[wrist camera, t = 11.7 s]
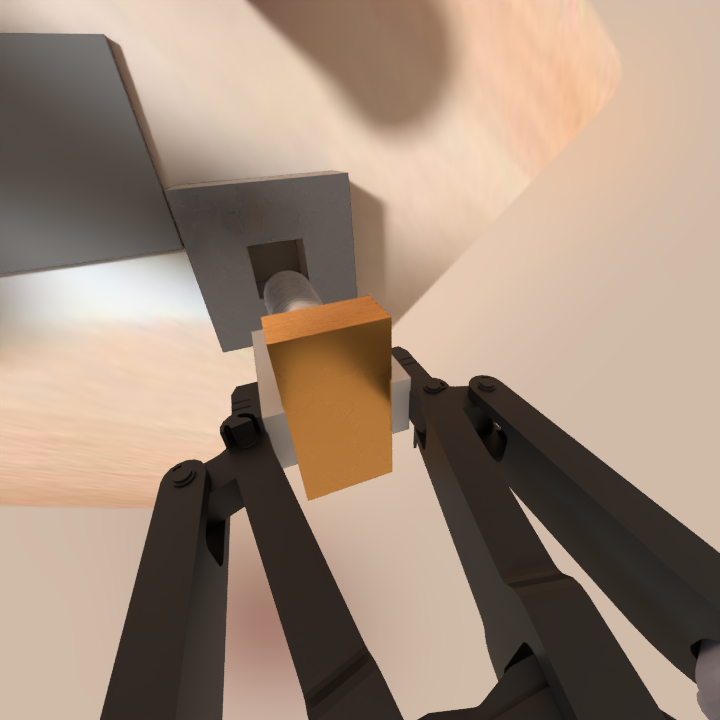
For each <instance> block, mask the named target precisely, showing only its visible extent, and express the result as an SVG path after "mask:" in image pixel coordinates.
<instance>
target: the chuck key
mask: <svg viewBox="0 0 720 720" xmlns="http://www.w3.org/2000/svg"><path fill="white" fill-rule="evenodd" d="M264 299H265V303H266V308H267V312H268V316H264V317H261V321H262V326H263V331H264V336H265V341H266V346H267V350H268V353H269V357H270V361H271V365H272V368H273V372H274V376H275V379H276V383H277V387H278V391H279V394H280V398H281V402H282V405H283V409H284V411H285V414H286V418H287V422H288V426H289V429H290V433H291V437H292V441H293V444H294V448H295V452H296V456H297V459H298V463H299V464H298V465H299V469H300V472H301V476H302V480H303V484H304V487H305V491H306V495H307V498H308V501H309V500H312V499H315V498H318V497H321V496H324V495H327V494H329V493H332V492H335V491H338V490H341V489H344V488H347V487H350V486H353V485H355V484H358V483H361V482H364V481H367V480H370V479H373V478H376V477H378V476H381V475H384V474H387V473H390V472H392V420H391V381H392V346H391V317H390V316H389V315H388V314H387V313H386V312H385V311H384V310H383V309H382V308H381V307H380V306H379V305H378V304H377V303H376V302H375V301H374V300H373V299H372V298H371V297H370V296H365V297H360V298H355V299H350V300H345V301H340V302H335V303H330V304H325V305H323V303H322V302H321V300H320V298H319V297H318V295H317V294H316V292H315V291H314V289H313V287H312V286H311V284H310V283H309V281H308V280H307V279H306V277H305V276H303V275H302V274H300V273H298V272H295V271H291V270H286V271H280V272H278V273H276V274H274V275H273V276H272V277H270V278H269V280H268V281H267V283H266V285H265V288H264Z"/></svg>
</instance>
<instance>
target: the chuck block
mask: <svg viewBox="0 0 720 720" xmlns="http://www.w3.org/2000/svg"><path fill="white" fill-rule="evenodd" d="M164 191H165V194H166V197H167V200H168V202H169V205H170V208H171V211H172V213H173V216H174V219H175V222H176V224H177V227H178V230H179V233H180V235H181V238H182V241H183V244H184V246H185V249H186V252H187V255H188V257H189V260H190V263H191V266H192V268H193V271H194V274H195V277H196V279H197V282H198V285H199V288H200V290H201V293H202V296H203V299H204V301H205V304H206V307H207V310H208V312H209V315H210V318H211V321H212V323H213V326H214V329H215V332H216V334H217V337H218V340H219V343H220V345H221V348H222V351H223V352H228V351H233V350H237V349H242V348H247V347H251V346H253V341H252V333H251V332H253V331H258V330H262V329H263V326H262V321H261V317H264V316H268V312H267V308H266V303H265V299H264V288H265V285H266V283H267V281H263V282H256V278H255V274H254V270H253V266H252V262H251V259H250V255H249V251H248V247H247V246H252V245H259V244H266V243H273V242H280V241H287V240H294V239H296V244H297V250H298V256H299V262H300V268H301V274H302V275H303V276H305V277H306V279H307V280H308V281H309V283H310V284H311V286H312V287H313V289H314V291H315V292H316V294H317V295H318V297H319V298H320V300H321V302H322V303H323V305H325V304H330V303H335V302H340V301H345V300H350V299H355V298H357V288H356V274H355V260H354V246H353V232H352V218H351V204H350V191H349V177H348V173H347V172H339V171H324V172H313V173H302V174H291V175H280V176H269V177H259V178H248V179H237V180H226V181H215V182H204V183H194V184H183V185H174V186H172V187H170V188H167V189H165V190H164Z"/></svg>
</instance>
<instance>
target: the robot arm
mask: <svg viewBox="0 0 720 720" xmlns="http://www.w3.org/2000/svg"><path fill="white" fill-rule="evenodd" d="M251 333H252V341H253V349H254V357H255V365H256V373H257V381H258V382H254V383H250V384H246V385H242V386H238V387H236V388H235V390H234V392H233V394H232V395H231V402H232V415H231V416H229V417H228V418H227V419H226V420H225V421H223V423H222V425H221V427H220V434H221V436H222V439H223V441H224V443H225V445H226V449H225V450H224V451H223V452H222V453H221V454H220V455H218V456H217V457H215V458H213V459H211V460H210V461H208V462H206V463H204V464H203V463H202V462H201V461H199V460H195V459H194V460H186V461H184V462H181V463H179V464H177V465H176V466H174V467H173V468H171V469H170V470H169V471H168V472H167V473H166V474H165V475H164V477H163V479H162V481H161V483H160V487H159V491H158V495H157V499H156V502H155V506H154V510H153V514H152V518H151V522H150V526H149V530H148V534H147V538H146V542H145V546H144V550H143V553H142V557H141V561H140V565H139V569H138V573H137V577H136V581H135V585H134V588H133V592H132V597H131V600H130V604H129V608H128V612H127V616H126V620H125V624H124V628H123V631H122V636H121V639H120V643H119V647H118V651H117V655H116V659H115V663H114V667H113V671H112V674H111V678H110V682H109V686H108V690H107V694H106V698H105V702H104V706H103V710H102V714H101V717H100V720H222V712H223V687H224V662H225V636H226V610H227V585H228V561H229V560H228V559H229V534H230V516H231V515H232V514H234V513H236V512H237V511H239V510H240V509H242V508H243V507H245V508H246V511H247V514H248V517H249V521H250V524H251V527H252V530H253V534H254V537H255V540H256V543H257V546H258V550H259V553H260V556H261V559H262V563H263V566H264V569H265V572H266V576H267V579H268V582H269V585H270V589H271V591H272V595H273V598H274V601H275V604H276V608H277V611H278V614H279V618H280V621H281V624H282V627H283V630H284V634H285V637H286V640H287V643H288V647H289V650H290V653H291V656H292V659H293V662H294V666H295V669H296V672H297V676H298V679H299V682H300V685H301V689H302V692H303V695H304V699H305V704H306V709H307V715H308V719H309V720H404V719H403V717H402V715H401V713H400V711H399V709H398V707H397V705H396V702H395V700H394V699H393V696H392V694H391V692H390V690H389V688H388V686H387V684H386V681H385V679H384V677H383V675H382V673H381V671H380V669H379V668H378V665H377V664H376V662H375V660H374V658H373V657H372V655H371V654H370V652H369V651H368V649H367V647H366V645H365V643H364V641H363V639H362V637H361V635H360V633H359V631H358V628H357V626H356V625H355V622H354V620H353V618H352V616H351V614H350V611H349V609H348V607H347V605H346V603H345V601H344V599H343V597H342V594H341V592H340V590H339V588H338V586H337V584H336V582H335V579H334V578H333V575H332V573H331V571H330V569H329V567H328V565H327V563H326V560H325V558H324V556H323V554H322V552H321V550H320V548H319V545H318V543H317V541H316V539H315V537H314V535H313V533H312V531H311V528H310V526H309V524H308V522H307V520H306V518H305V516H304V513H303V511H302V509H301V507H300V505H299V503H298V501H297V499H296V497H295V494H294V492H293V490H292V488H291V486H290V484H289V482H288V479H287V477H286V475H285V473H284V471H283V468H286V467H289V466H293V465H296V464H299V463H298V459H297V456H296V452H295V448H294V444H293V441H292V437H291V433H290V429H289V426H288V422H287V418H286V414H285V411H284V409H283V405H282V402H281V398H280V394H279V391H278V387H277V383H276V379H275V376H274V372H273V368H272V365H271V361H270V357H269V353H268V350H267V346H266V341H265V336H264V331H263V329H262V330H258V331H253V332H251ZM409 419H410V420H411V422H412V423H413V425H414V448H416V446H417V444H418V446H419V449H420V452H421V455H422V457H423V460H424V463H425V466H426V468H427V471H428V474H429V476H430V479H431V482H432V485H433V487H434V490H435V493H436V495H437V498H438V501H439V504H440V506H441V509H442V512H443V514H444V517H445V520H446V523H447V526H448V528H449V531H450V534H451V536H452V539H453V542H454V545H455V547H456V550H457V553H458V555H459V558H460V561H461V564H462V566H463V569H464V572H465V575H466V577H467V580H468V583H469V585H470V588H471V591H472V594H473V596H474V599H475V602H476V604H477V607H478V610H479V613H480V615H481V618H482V621H483V625H484V629H485V638H486V644H487V648H488V652H489V655H490V659H491V662H492V665H493V667H494V670H495V673H496V676H497V679H498V683H497V684H496V686H495V687H494V688H493V689H492V691H491V692H490V693H489V694H488V696H487V697H486V698H485V700H484V701H483V702H482V703H481V704H480V705H479V706H477V707H474V708H467V709H459V710H451V711H443V712H435V713H428V714H427V715H425V716H423V717H421V718H420V719H418V720H676V719H674V718H673V717H671V716H670V715H668V714H667V713H665V712H663V711H662V710H660V709H659V708H658V706H657V704H656V702H655V701H654V699H653V697H652V696H651V694H650V693H649V691H648V690H647V688H646V686H645V685H644V683H643V682H642V680H641V678H640V677H639V675H638V674H637V672H636V671H635V669H634V667H633V666H632V664H631V662H630V661H629V659H628V658H627V656H626V654H625V653H624V651H623V650H622V648H621V647H620V645H619V643H618V642H617V640H616V639H615V637H614V635H613V634H612V632H611V630H610V629H609V627H608V626H607V624H606V623H605V621H604V619H603V618H602V616H601V614H600V613H599V611H598V610H597V608H596V606H595V605H594V604H593V602H592V600H591V598H590V597H589V595H588V594H587V593H586V591H585V590H584V589H583V587H582V586H581V585H580V584H579V583H578V582H577V581H576V580H575V579H574V578H573V577H571V576H568V575H565V574H563V573H562V572H561V571H560V570H559V569H558V568H557V567H556V565H555V564H554V562H553V561H552V559H551V557H550V556H549V554H548V552H547V551H546V549H545V547H544V545H543V544H542V542H541V540H540V539H539V537H538V535H537V534H536V532H535V530H534V529H533V527H532V525H531V524H530V522H529V520H528V518H527V517H526V515H525V513H524V512H523V510H522V508H521V507H520V505H519V503H518V501H517V500H516V498H515V497H514V495H513V493H512V491H511V490H510V488H511V489H512V490H513V492H514V493H515V494H516V495H517V496H518V497H519V498H520V499H521V501H522V502H523V503H524V504H525V505H526V506H527V507H528V508H529V510H530V511H531V512H532V513H533V514H534V515H535V516H536V517H537V518H538V520H539V521H540V522H541V523H542V524H543V525H544V526H545V527H546V529H547V530H548V531H549V532H550V533H551V534H552V535H553V536H554V537H555V539H556V540H557V541H558V542H559V543H560V544H561V545H562V546H563V548H564V549H565V550H566V551H567V552H568V553H569V554H570V555H571V556H572V558H574V560H575V561H576V562H577V563H578V564H579V565H580V567H581V568H582V569H583V570H584V571H585V572H586V573H587V574H588V575H589V576H590V577H591V579H592V580H593V581H594V582H595V583H596V584H597V585H598V587H599V588H600V589H601V590H602V591H603V592H604V593H605V594H606V595H607V597H608V598H609V599H610V600H611V601H612V602H613V603H614V605H615V606H616V607H617V608H618V609H619V610H620V611H621V612H622V613H623V614H624V616H625V617H626V618H627V619H628V620H629V621H630V622H631V623H632V624H633V625H634V627H635V628H636V629H637V630H638V631H639V632H640V633H641V634H642V635H643V636H644V637H645V638H646V639H647V640H648V641H649V642H650V643H651V644H652V645H653V646H654V647H655V648H656V649H657V650H658V651H659V652H660V653H662V654H663V655H664V656H665V657H666V658H667V659H668V660H669V661H670V662H671V663H672V664H673V665H674V666H675V667H676V668H678V669H679V670H680V671H681V672H683V673H684V674H685V675H686V676H687V677H688V678H690V679H691V680H692V681H693V682H695V683H696V684H697V686H698V689H699V691H698V693H697V701H698V703H699V706H700V708H701V710H702V712H703V713H704V714H705V715H706V717H707V718H708V719H709V720H720V553H719V552H717V551H716V550H715V549H714V548H713V547H711V546H710V545H709V544H708V543H706V542H705V541H704V540H702V539H701V538H700V537H699V536H697V535H696V534H695V533H693V532H692V531H691V530H690V529H688V528H687V527H686V526H685V525H683V524H682V523H681V522H679V521H678V520H677V519H676V518H674V517H673V516H672V515H671V514H669V513H668V512H667V511H665V510H664V509H663V508H662V507H660V506H659V505H658V504H656V503H655V502H654V501H653V500H651V499H650V498H648V496H646V495H645V494H644V493H642V492H641V491H640V490H639V489H637V488H636V487H635V486H634V485H632V484H631V483H630V482H628V481H627V480H626V479H625V478H623V477H622V476H621V475H619V474H618V473H617V472H615V471H614V470H613V469H612V468H611V467H609V466H608V465H607V464H605V463H604V462H603V461H602V460H600V459H599V458H597V456H595V455H594V454H593V453H591V452H590V451H589V450H588V449H586V448H585V447H584V446H582V445H581V444H580V443H579V442H577V441H576V440H575V439H574V438H572V437H571V436H570V435H568V434H567V433H566V432H565V431H563V430H562V429H561V428H559V427H558V426H557V425H555V424H554V423H553V422H552V421H551V420H549V419H548V418H547V417H545V416H544V415H543V414H541V413H540V412H539V411H538V410H536V409H535V408H534V407H532V406H531V405H530V404H529V403H528V402H526V401H525V400H524V399H522V398H521V397H520V396H519V395H517V394H516V393H515V392H514V391H512V390H511V389H510V388H508V387H507V386H506V385H504V384H503V383H502V382H500V381H499V380H497V379H496V378H494V377H490V376H484V375H480V376H475V377H473V378H472V379H471V380H470V381H469V386H458V387H451V386H449V385H448V384H447V383H446V382H445V381H443V380H441V379H437V378H432V377H431V376H430V375H429V374H428V373H427V372H426V371H425V370H424V369H423V368H422V366H421V365H420V364H419V363H417V361H416V360H415V359H414V358H413V357H412V355H411V354H410V353H409V352H408V351H407V350H405V349H403V348H401V347H399V346H398V347H394V348H392V381H391V420H392V433H393V434H394V433H397V432H400V431H403V430H407V429H409ZM496 424H497V425H499V427H498V426H497V425H496ZM509 487H510V488H509Z"/></svg>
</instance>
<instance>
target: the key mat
mask: <svg viewBox="0 0 720 720" xmlns="http://www.w3.org/2000/svg"><path fill="white" fill-rule="evenodd" d="M183 248H184V247H183V244H182V242H181V239H180V236H179V233H178V231H177V228H176V225H175V222H174V220H173V217H172V214H171V211H170V209H169V206H168V203H167V201H166V198H165V195H164V192H163V190H162V187H161V184H160V181H159V179H158V176H157V173H156V171H155V168H154V165H153V162H152V160H151V157H150V154H149V151H148V149H147V146H146V143H145V140H144V138H143V135H142V132H141V130H140V127H139V124H138V121H137V119H136V116H135V113H134V110H133V108H132V105H131V102H130V99H129V97H128V94H127V91H126V89H125V86H124V83H123V80H122V78H121V75H120V72H119V69H118V67H117V64H116V61H115V59H114V56H113V53H112V50H111V48H110V45H109V42H108V39H107V37H106V36H105V35H104V34H36V33H0V274H3V273H10V272H17V271H24V270H32V269H39V268H46V267H54V266H61V265H68V264H76V263H83V262H90V261H98V260H105V259H112V258H120V257H127V256H134V255H141V254H149V253H156V252H163V251H171V250H178V249H183Z"/></svg>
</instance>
